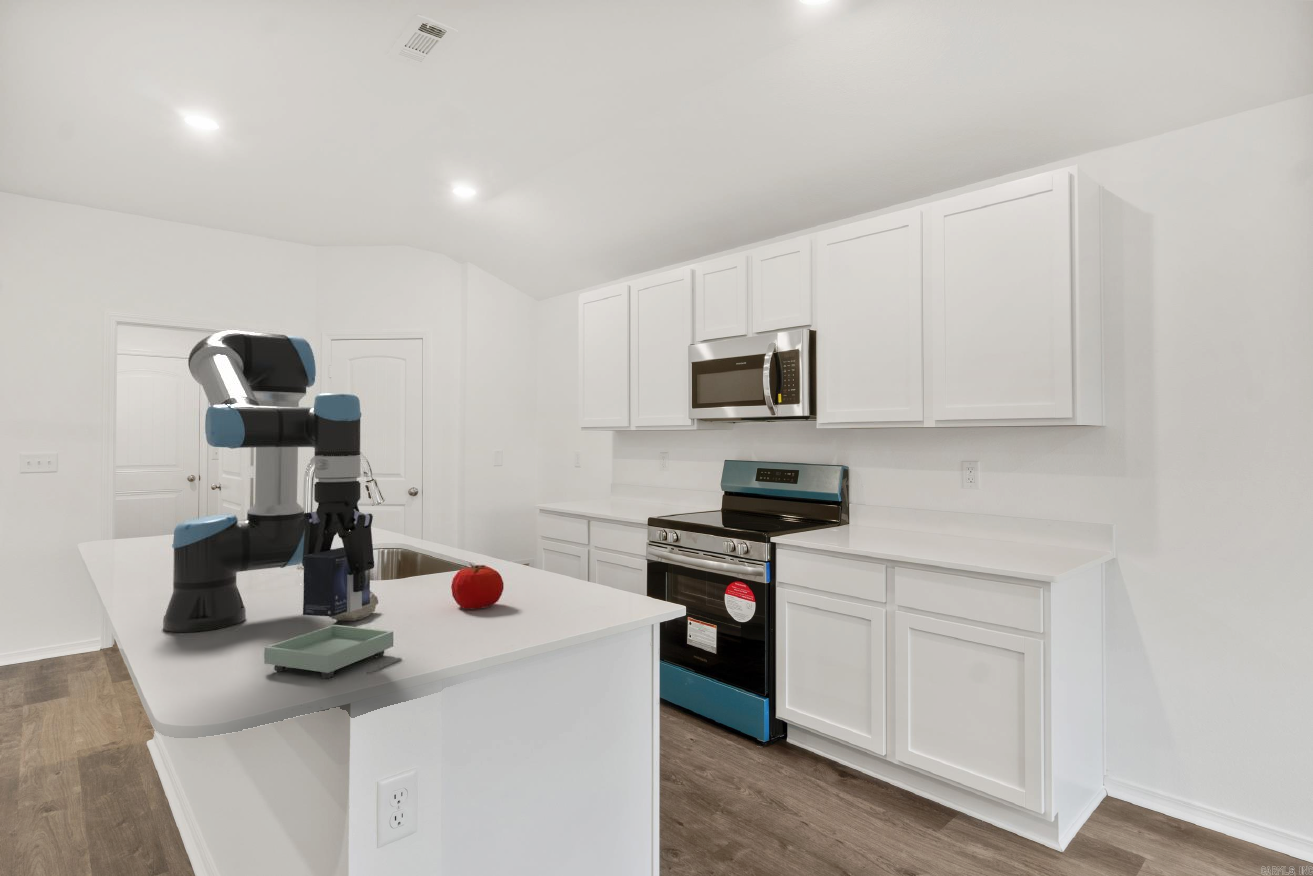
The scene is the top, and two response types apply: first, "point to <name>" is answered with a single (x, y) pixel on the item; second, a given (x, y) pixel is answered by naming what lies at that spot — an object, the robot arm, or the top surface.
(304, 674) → the top surface
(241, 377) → the robot arm
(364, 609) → the stone
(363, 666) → the top surface
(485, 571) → the tomato
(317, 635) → the green footed tray
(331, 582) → the small box
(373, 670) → the strip
